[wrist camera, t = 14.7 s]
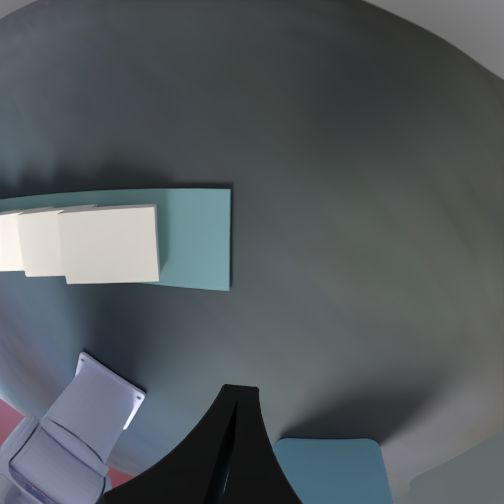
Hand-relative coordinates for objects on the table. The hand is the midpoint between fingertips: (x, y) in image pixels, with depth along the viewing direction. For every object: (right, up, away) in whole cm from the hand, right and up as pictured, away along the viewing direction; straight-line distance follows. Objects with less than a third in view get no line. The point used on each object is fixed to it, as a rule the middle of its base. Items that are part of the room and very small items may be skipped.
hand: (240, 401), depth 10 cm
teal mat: (-15, +8, +10) cm, 20 cm away
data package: (+9, -16, +15) cm, 24 cm away
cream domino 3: (-6, +7, +8) cm, 12 cm away
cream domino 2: (-11, +7, +9) cm, 16 cm away
